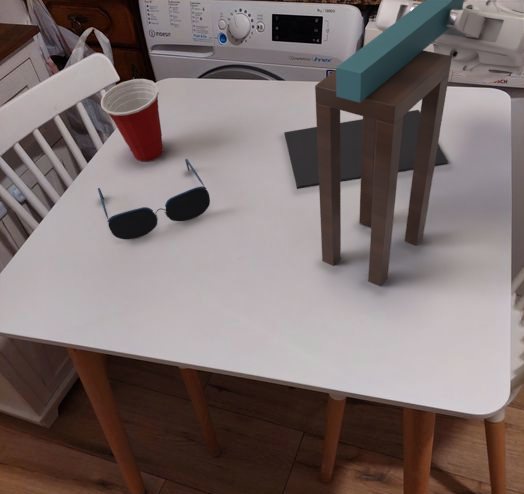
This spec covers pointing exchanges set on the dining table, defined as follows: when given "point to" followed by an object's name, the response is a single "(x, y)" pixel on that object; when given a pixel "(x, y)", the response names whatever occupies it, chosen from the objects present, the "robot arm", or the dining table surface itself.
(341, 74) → the rail
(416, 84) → the stand
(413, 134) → the mat
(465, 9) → the robot arm
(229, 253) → the dining table surface
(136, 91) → the plastic cup
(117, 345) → the dining table surface
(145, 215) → the sunglasses
